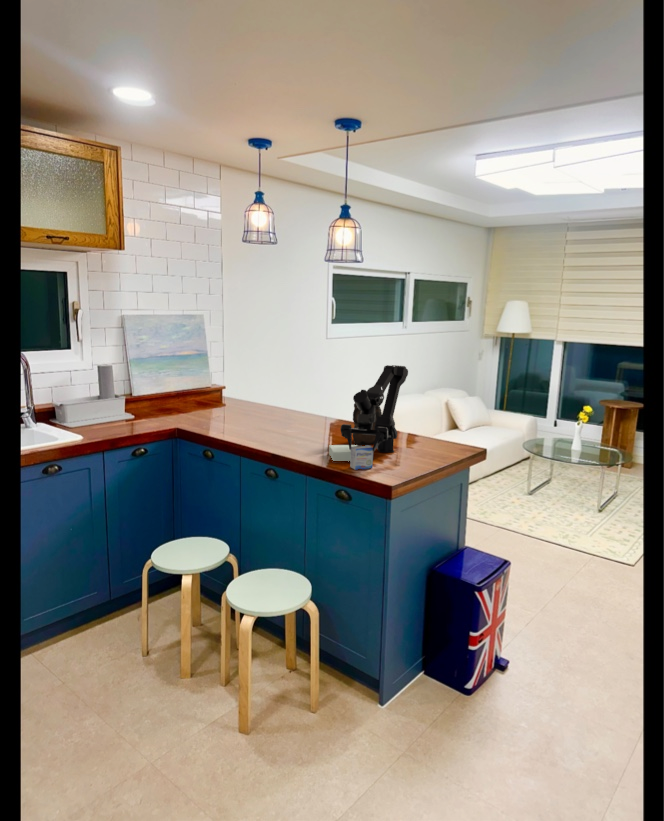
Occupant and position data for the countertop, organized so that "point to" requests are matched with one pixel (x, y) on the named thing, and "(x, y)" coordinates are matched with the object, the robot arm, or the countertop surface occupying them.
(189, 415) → the countertop surface
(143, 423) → the countertop surface
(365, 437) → the owl
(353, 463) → the medicine box
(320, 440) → the countertop surface
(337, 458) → the mint block
